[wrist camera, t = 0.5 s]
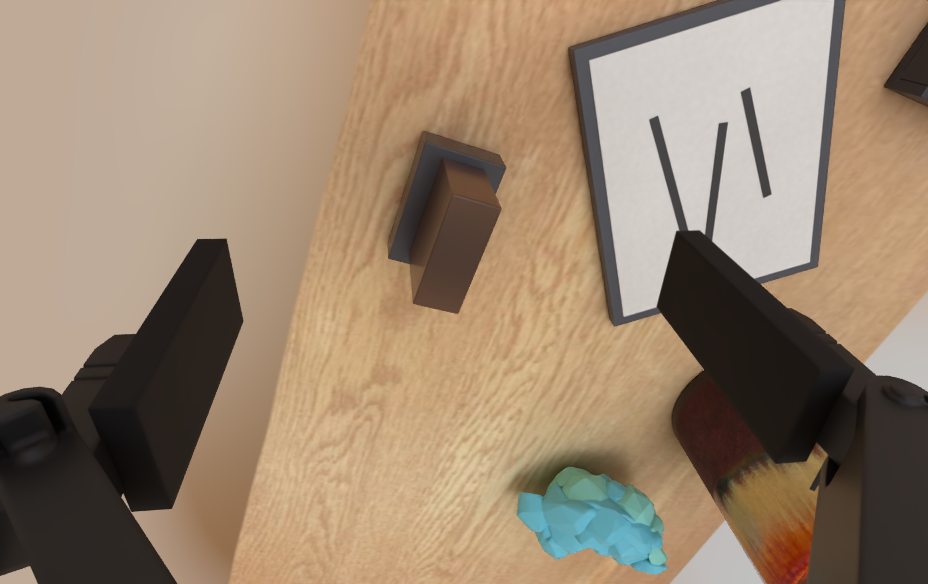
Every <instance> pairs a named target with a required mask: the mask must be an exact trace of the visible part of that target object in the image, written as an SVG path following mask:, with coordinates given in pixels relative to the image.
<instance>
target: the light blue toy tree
mask: <svg viewBox="0 0 928 584" xmlns="http://www.w3.org/2000/svg"><path fill="white" fill-rule="evenodd" d="M517 516H518V517H519V518H520V519H521V520H522V521H523V522H524V523H525V524H526V526H527V527H528V528H529V529H530V530H532V531H535V533H536V536H537V538H538V541H539V543H540V544H541V546H542V548H543V549H544V551H545V552H547V553H548V554H550V555H551V556H552V557H554V558H555V559H560V558H563V557H566V556H567V555H568V554H572V553H576V552H578V551H581V550H583V549H586V548H591V549H593V550H594V551H595V552H597V553H598V554H599V555H604V556H610V557H612V558H613V559H614V560H616V561H617V562H618V563H619V564H623V565H629V564H630V565H631V566H632V567H633V568H634V569H635V570H638V571H641V572H645V573H649V574H659V573H661V572H663V571H665V570H667V569H668V566H667V565H665V562H666V560H667V555H666V554H665V553H664V551H663V550H662V545H663V538H662V535H663V531H664V525H663V522H662V520H661V518H660V517H659V516H657V515H656V512H655V509H654V504H653V503H652V502H651V500H650V499H649V498H648V497H647V496H646V495H645V494H644V493H642V492H641V491H639V490H638V489H636V488H635V487H634V486H632V485H627V486H624V485H622V484H621V483H619V482H618V481H614V480H612V479H611V478H609V477H608V476H607V475H605V474H600V475H592V474H591V473H589V472H588V471H586V470H584V469H580V468H575V467H567V468H565V469H563V470H562V471H561V472H559V473H558V474H557V475H556V476H555V478H554V479H553V481H552V482H551V483H550V485H549V486H548V488H547V492H546V494H545V495H544V496H542V495H539V494H534V493H527V492H520V493H519V499H518V509H517Z"/></svg>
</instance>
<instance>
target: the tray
mask: <svg viewBox="0 0 928 584" xmlns="http://www.w3.org/2000/svg"><path fill="white" fill-rule="evenodd" d="M885 87H886V88H888V89H890V90H892V91H895V92H897V93H899V94H901V95H903V96H906V97H908V98H910V99H912V100H914V101H917V102H919V103H921V104H923V105H925V106H928V24H927V25H926V27H925V28H924V30H923V31H922V32H921V34H920V35H919V37H918V38H917V40H916V41H915V43H914V44H913V45H912V47H911V48H910V50H909V51H908V53H907V54H906V56H905V57H904V58H903V60H902V61H901V63H900V64H899V66H898V67H897V68H896V70H895V71H894V73H893V74H892V76H891V77H890V79H889V80H888V81H887V83H886V84H885Z"/></svg>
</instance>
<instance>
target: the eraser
mask: <svg viewBox="0 0 928 584" xmlns="http://www.w3.org/2000/svg"><path fill="white" fill-rule="evenodd" d="M505 169H506V166H505V164H504V162H503V160H502V159H501V157H500V155H497V154H494V153H491V152H488V151H485V150H482V149H479V148H476V147H472V146H469V145H466V144H463V143H460V142H457V141H454V140H451V139H447V138H444V137H441V136H438V135H435V134H432V133H429V132H426V131H423V133H422V136H421V139H420V142H419V146H418V149H417V152H416V155H415V158H414V161H413V165H412V168H411V171H410V174H409V177H408V180H407V184H406V187H405V190H404V193H403V196H402V199H401V203H400V206H399V209H398V212H397V215H396V218H395V222H394V225H393V228H392V231H391V234H390V237H389V241H388V258H389V259H392V260H396V261H400V262H404V263H408V264H410V274H411V286H412V298H413V304H416V305H420V306H425V307H429V308H434V309H438V310H442V311H447V312H451V313H456V314H458V313H459V311H460V308H461V306H462V304H463V301H464V299H465V296H466V294H467V291H468V289H469V287H470V284H471V282H472V279H473V277H474V274H475V272H476V270H477V267H478V265H479V262H480V260H481V258H482V255H483V253H484V250H485V248H486V245H487V243H488V241H489V238H490V236H491V233H492V231H493V228H494V226H495V224H496V221H497V219H498V216H499V214H500V212H501V206H500V204H499V201H498V199H497V197H496V195H495V194H496V192H497V189H498V187H499V184H500V182H501V179H502V177H503V174H504V172H505Z"/></svg>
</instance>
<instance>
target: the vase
mask: <svg viewBox="0 0 928 584" xmlns="http://www.w3.org/2000/svg"><path fill="white" fill-rule="evenodd" d="M672 425H673V429H674V433H675V435H676V437H677V439H678V440H679V442H680V444H681V446H682V447H683V449H684V451H685V452H686V454H687V456H688V457H689V459H690V461H691V463H692V464H693V466H694V468H695V469H696V471H697V473H698V474H699V476H700V478H701V479H702V481H703V483H704V484H705V486H706V488H707V489H708V491H709V493H710V494H711V496H712V498H713V499H714V501H715V503H716V505H717V506H718V508H719V510H720V511H721V513H722V515H723V516H724V518H725V520H726V521H727V523H728V525H729V526H730V528H731V530H732V531H733V533H734V534H735V536H736V538H737V540H738V541H739V543H740V545H741V546H742V548H743V550H744V551H745V553H746V555H747V556H748V558H749V560H750V561H751V563H752V565H753V566H754V568H755V570H756V571H757V573H758V575H759V576H760V578H761V580H762V581H763V583H764V584H806V583H807V575H808V567H809V559H810V551H811V544H812V536H813V528H814V520H815V512H816V505H817V497H818V489H819V486H818V487H817V488H816V490H815V491H812V490H810V489H809V488H810V487H811V485H812V483H813V481H814V479H815V477H816V476H817V474H818V472H819V470H820V468H821V466H822V465H823V463H824V461H825V459H826V457H827V455H828V454H827V453H826V452H825V451H824V450H823V449H822V448H821V446H820V445H819V444H818V443H817V442H816V444H815V446H814V448H813V450H812V452H811V454H810V456H809V458H808V460H807V461H806V462H795V463H782V464H775V462H774V461H773V460H772V458H771V457H770V456H769V454H768V453H767V452H766V450H765V449H764V448H763V446H762V445H761V444H760V442H759V441H758V440H757V438H756V437H755V436H754V435H753V433H752V432H751V431H750V429H749V428H748V427H747V425H746V424H745V423H744V421H743V420H742V419H741V417H740V416H739V415H738V413H737V412H736V411H735V409H734V408H733V407H732V406H731V404H730V403H729V402H728V400H727V399H726V398H725V396H724V395H723V394H722V392H721V391H720V390H719V388H718V387H717V386H716V384H715V383H714V382H713V380H712V379H711V378H710V377H709V375H708V374H707V373H706V371H704V372H703V373H701V374H700V375H699V376H698V377H696V378H695V379H694V380H693V381H692V382H691V383H690V384H689V385H688V386H687V387H686V389H685V390H684V391H683V392H682V394H681V395H680V397H679V399H678V400H677V403H676V405H675V407H674V411H673V415H672Z"/></svg>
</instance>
